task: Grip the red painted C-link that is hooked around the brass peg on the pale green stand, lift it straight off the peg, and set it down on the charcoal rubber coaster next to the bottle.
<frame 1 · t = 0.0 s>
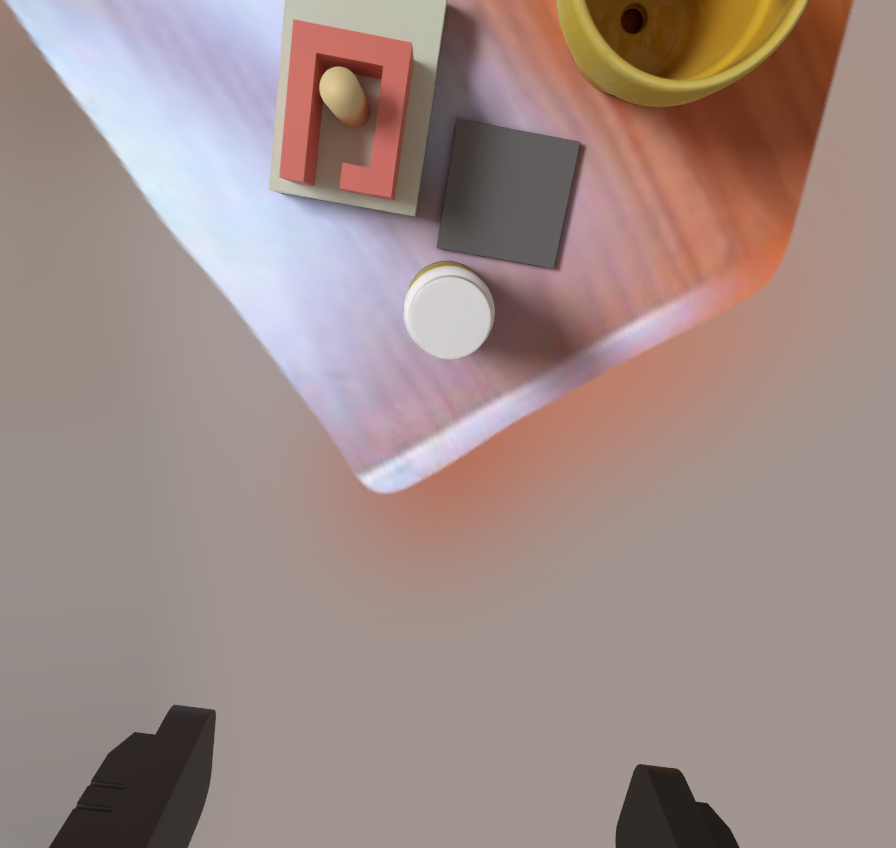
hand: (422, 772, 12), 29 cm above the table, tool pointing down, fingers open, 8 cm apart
coaster: (506, 196, 37), on the table
stand: (359, 101, 35), on the table
supplement bottle: (446, 300, 39), on the table
c link: (351, 122, 34), point 2 cm above the table, touching stand
plant pot: (625, 28, 35), on the table
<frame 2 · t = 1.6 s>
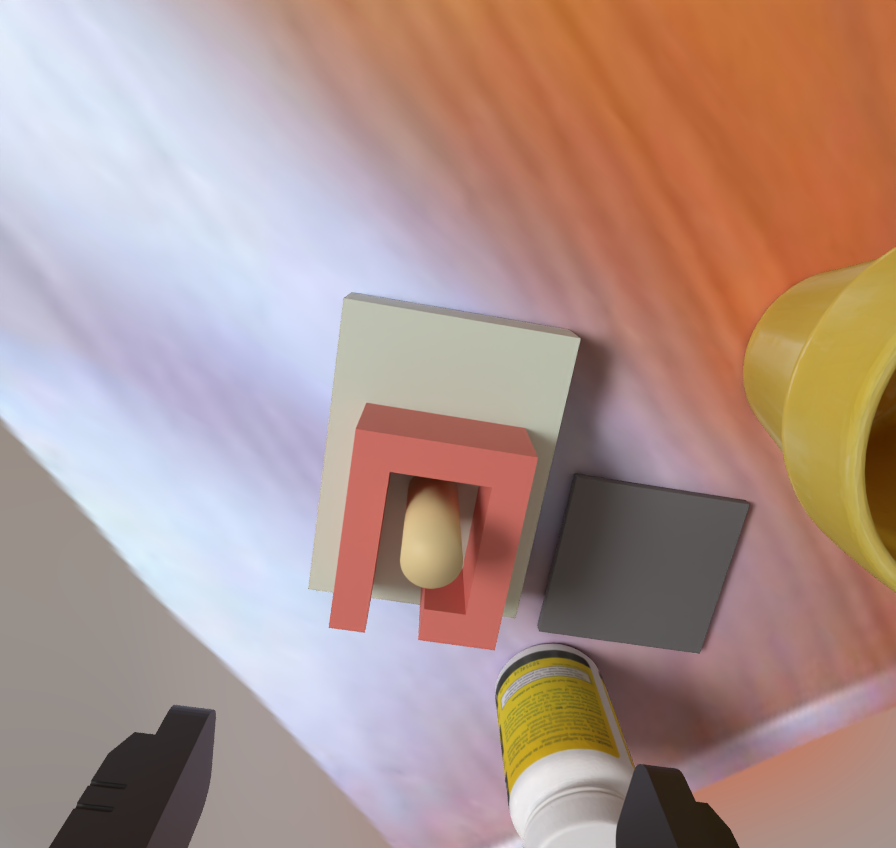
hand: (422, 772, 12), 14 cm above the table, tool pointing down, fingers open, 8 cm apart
coaster: (638, 564, 26), on the table
stand: (436, 452, 25), on the table
supplement bottle: (547, 683, 28), on the table
c link: (430, 506, 23), point 2 cm above the table, touching stand
plant pot: (824, 356, 24), on the table
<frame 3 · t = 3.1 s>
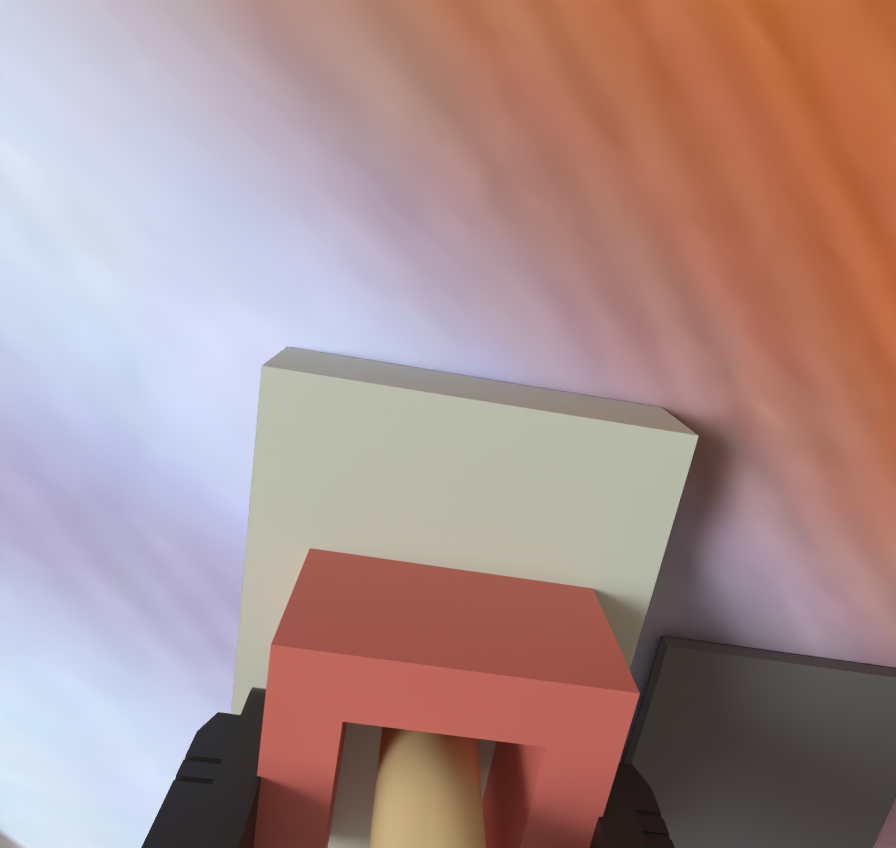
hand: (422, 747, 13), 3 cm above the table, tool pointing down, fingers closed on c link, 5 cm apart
coaster: (757, 769, 16), on the table
stand: (435, 604, 15), on the table
c link: (425, 715, 13), point 2 cm above the table, touching gripper, stand
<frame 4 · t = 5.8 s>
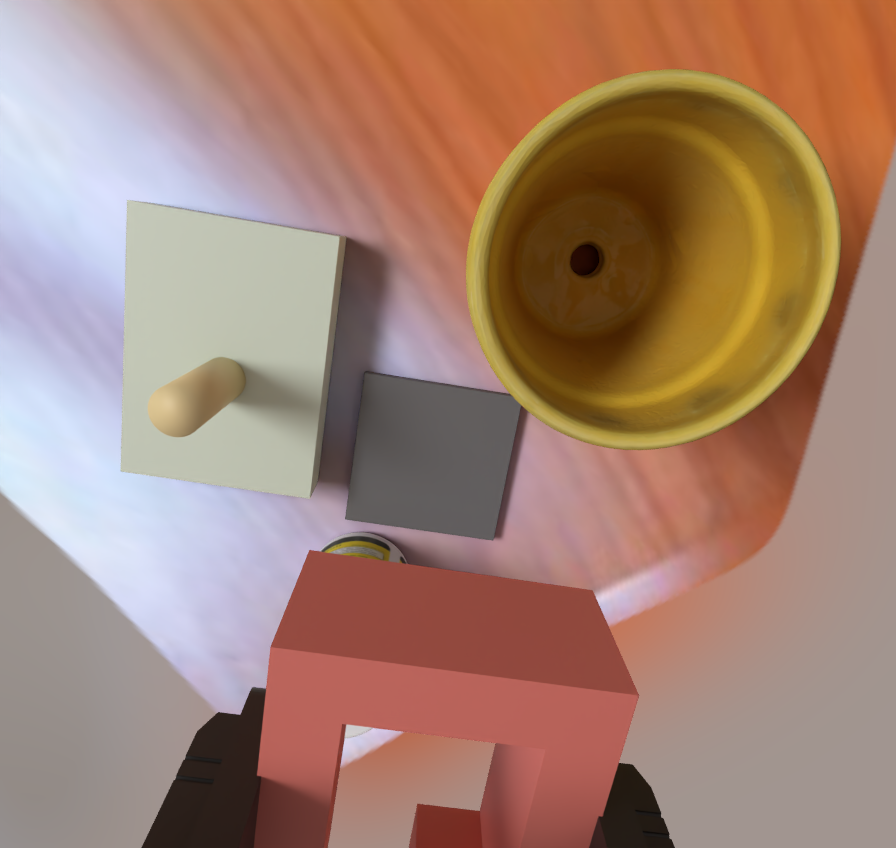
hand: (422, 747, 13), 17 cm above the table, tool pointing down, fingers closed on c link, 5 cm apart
coaster: (431, 457, 29), on the table
stand: (239, 351, 28), on the table
supplement bottle: (362, 572, 31), on the table
c link: (424, 717, 13), point 16 cm above the table, touching gripper
plant pot: (578, 261, 27), on the table
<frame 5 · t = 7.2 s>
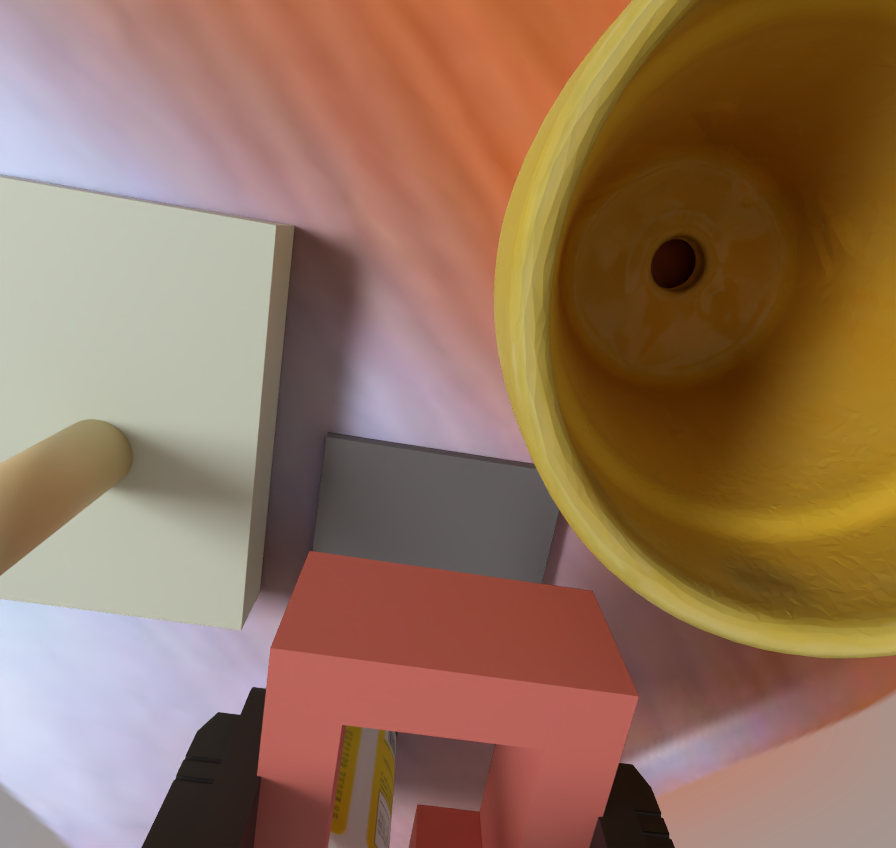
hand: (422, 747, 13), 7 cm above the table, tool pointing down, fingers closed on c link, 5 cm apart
coaster: (429, 557, 19), on the table
stand: (133, 402, 18), on the table
supplement bottle: (328, 713, 21), on the table
c link: (424, 718, 13), point 6 cm above the table, touching gripper
plant pot: (659, 266, 17), on the table
when the fingers open (3 cm above the table, at t = 8.5 s): c link drops 1 cm, resting on coaster.
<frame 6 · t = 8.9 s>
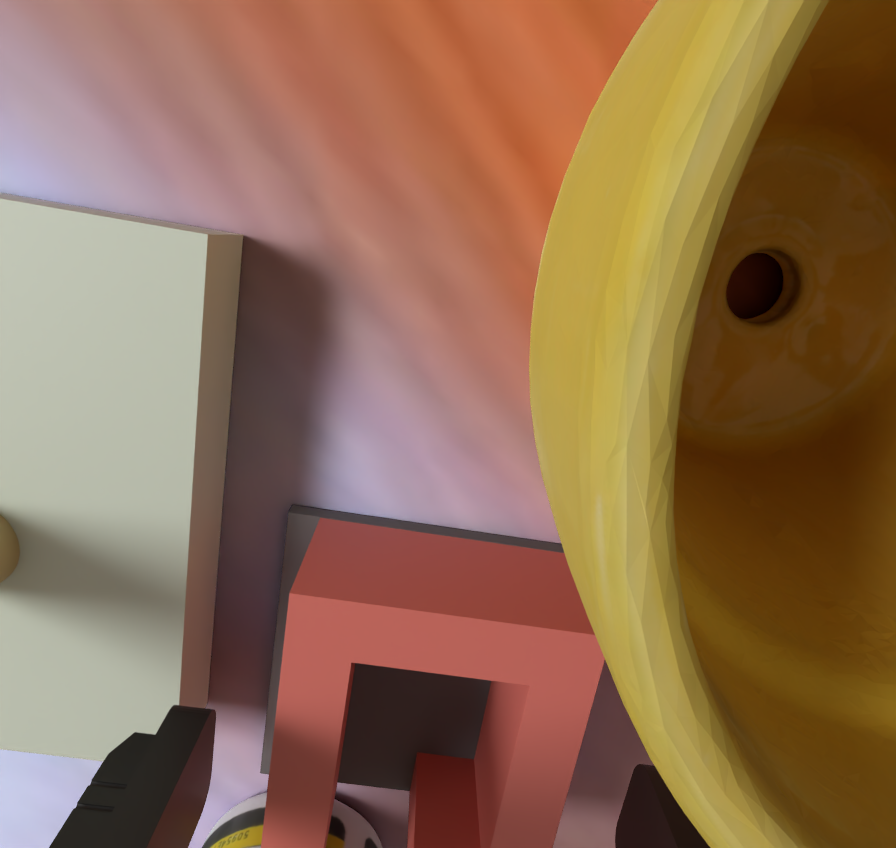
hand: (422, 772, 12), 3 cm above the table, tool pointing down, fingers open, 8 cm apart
coaster: (424, 660, 15), on the table
stand: (34, 466, 14), on the table
supplement bottle: (298, 847, 17), on the table
c link: (423, 671, 15), resting on coaster
plant pot: (730, 288, 13), on the table
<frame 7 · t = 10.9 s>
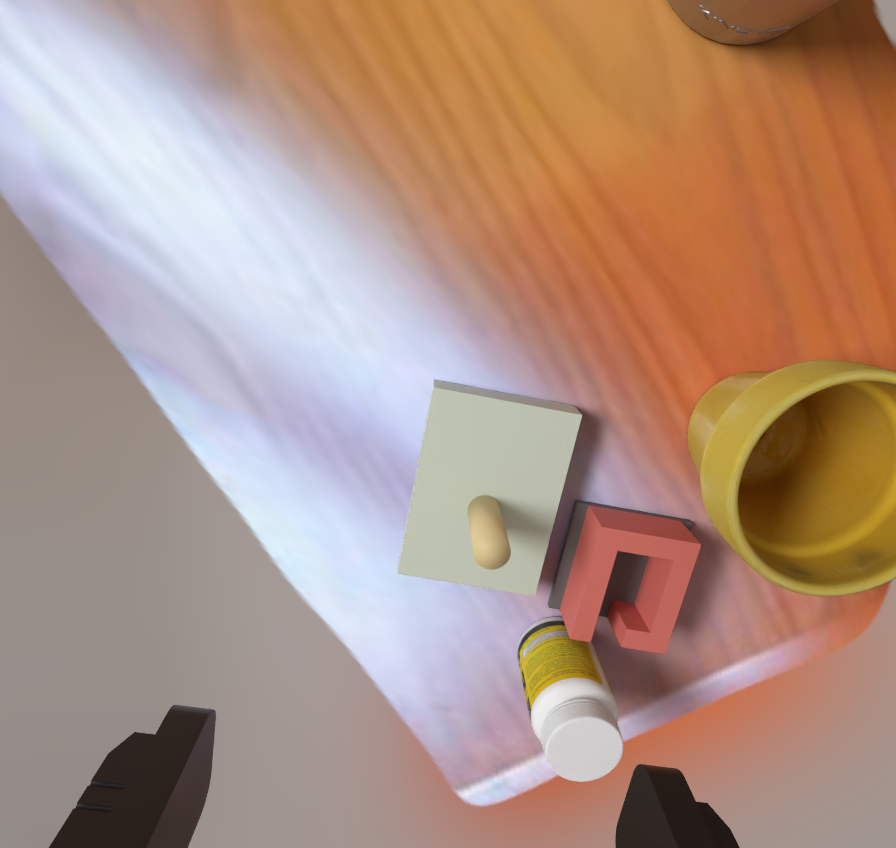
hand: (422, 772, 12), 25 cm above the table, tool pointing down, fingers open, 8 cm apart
coaster: (617, 562, 38), on the table
stand: (484, 483, 37), on the table
supplement bottle: (553, 645, 40), on the table
c link: (619, 566, 38), resting on coaster
plant pot: (740, 425, 36), on the table
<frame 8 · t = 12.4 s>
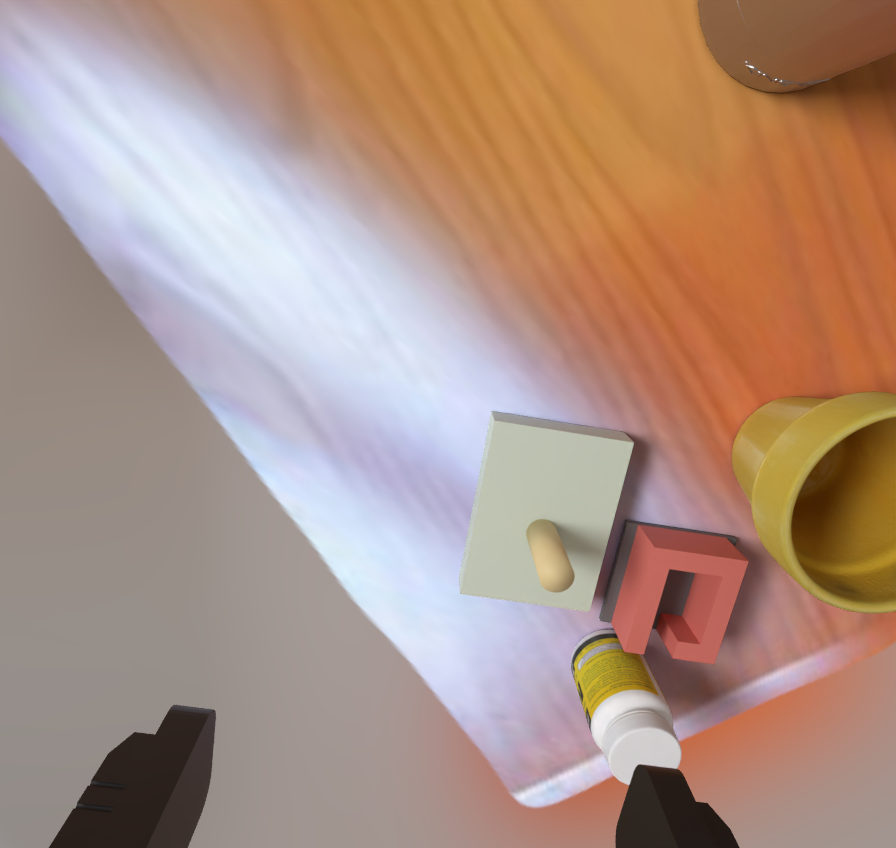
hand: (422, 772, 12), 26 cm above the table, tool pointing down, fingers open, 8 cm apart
coaster: (665, 577, 40), on the table
stand: (538, 506, 39), on the table
supplement bottle: (604, 656, 42), on the table
c link: (667, 580, 40), resting on coaster
plant pot: (782, 446, 38), on the table
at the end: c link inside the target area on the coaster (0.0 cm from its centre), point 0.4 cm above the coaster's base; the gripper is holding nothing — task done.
